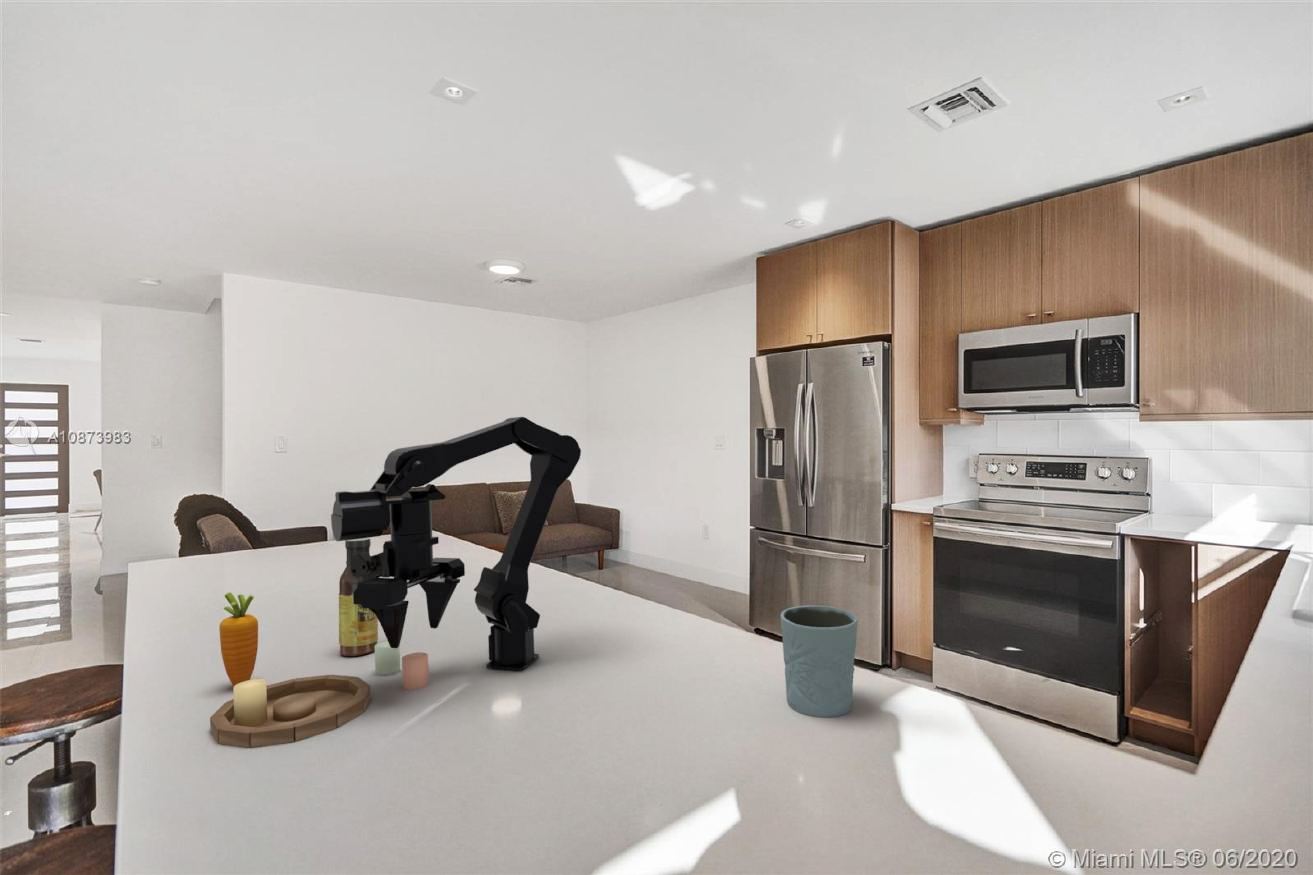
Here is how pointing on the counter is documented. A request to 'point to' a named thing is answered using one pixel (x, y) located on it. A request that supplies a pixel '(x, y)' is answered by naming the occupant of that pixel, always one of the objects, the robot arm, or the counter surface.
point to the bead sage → (386, 659)
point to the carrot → (239, 640)
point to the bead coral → (415, 671)
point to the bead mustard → (250, 703)
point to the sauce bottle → (355, 609)
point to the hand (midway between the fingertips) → (415, 637)
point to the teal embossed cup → (819, 659)
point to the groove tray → (324, 719)
